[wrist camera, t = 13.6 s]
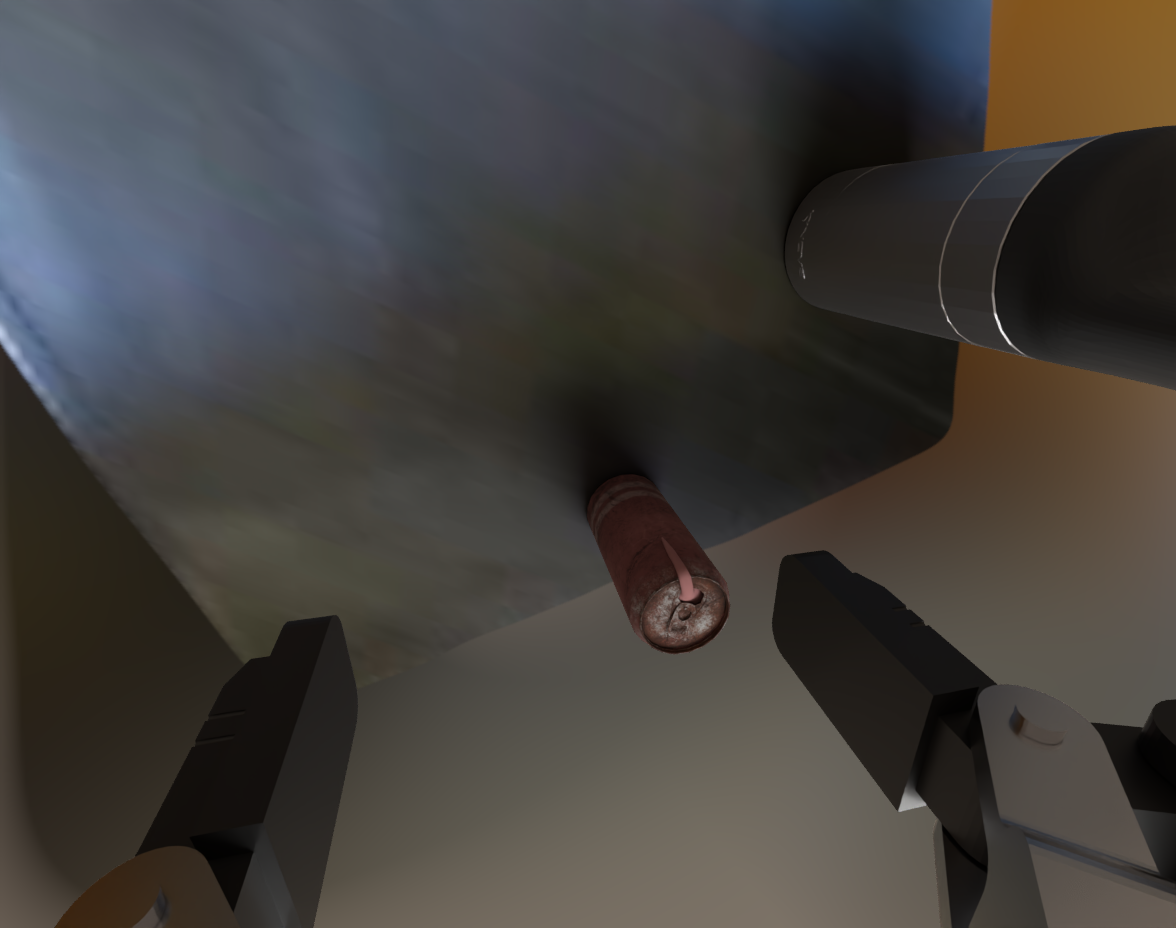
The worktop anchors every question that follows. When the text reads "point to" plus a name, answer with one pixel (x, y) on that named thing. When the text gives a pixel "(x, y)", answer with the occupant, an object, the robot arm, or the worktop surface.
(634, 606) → the can
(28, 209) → the worktop surface
